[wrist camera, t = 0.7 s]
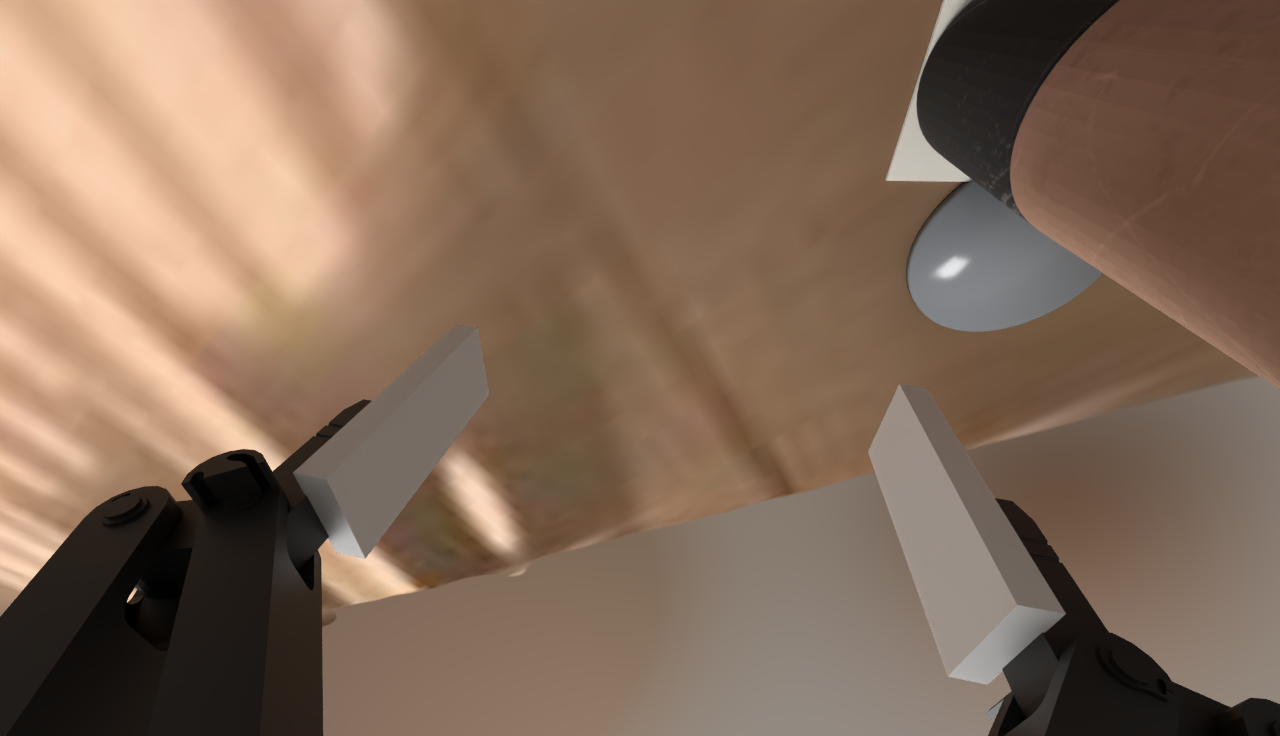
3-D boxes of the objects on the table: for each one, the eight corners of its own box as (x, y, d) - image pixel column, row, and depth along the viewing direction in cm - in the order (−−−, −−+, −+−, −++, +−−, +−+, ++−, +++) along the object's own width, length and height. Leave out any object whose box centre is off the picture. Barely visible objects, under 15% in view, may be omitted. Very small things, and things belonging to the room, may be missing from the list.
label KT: (965, -69, 17) (967, -70, 17) (1168, -75, 16) (1172, -76, 16) (885, 179, 23) (886, 180, 22) (1033, 181, 22) (1035, 182, 22)
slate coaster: (950, 147, 21) (955, 151, 21) (1179, 149, 21) (1190, 153, 20) (881, 322, 28) (884, 327, 27) (1054, 329, 27) (1060, 335, 27)
